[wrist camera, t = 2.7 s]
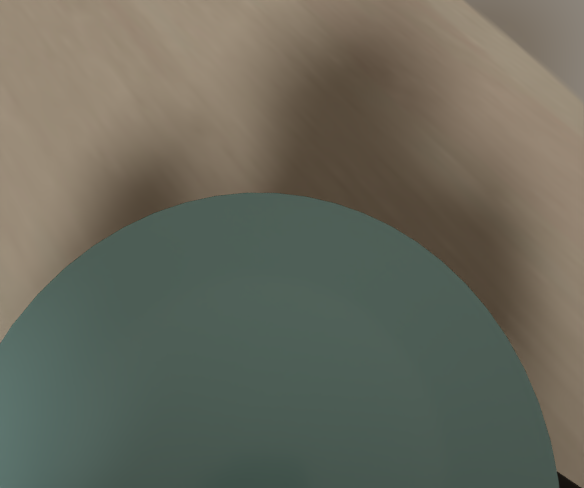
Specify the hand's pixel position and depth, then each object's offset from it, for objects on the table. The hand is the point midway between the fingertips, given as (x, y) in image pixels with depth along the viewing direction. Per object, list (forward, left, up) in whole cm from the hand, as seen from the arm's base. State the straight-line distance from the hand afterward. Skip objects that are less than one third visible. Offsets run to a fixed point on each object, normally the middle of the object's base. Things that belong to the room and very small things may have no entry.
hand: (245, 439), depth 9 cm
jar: (0, 0, -8) cm, 8 cm away
